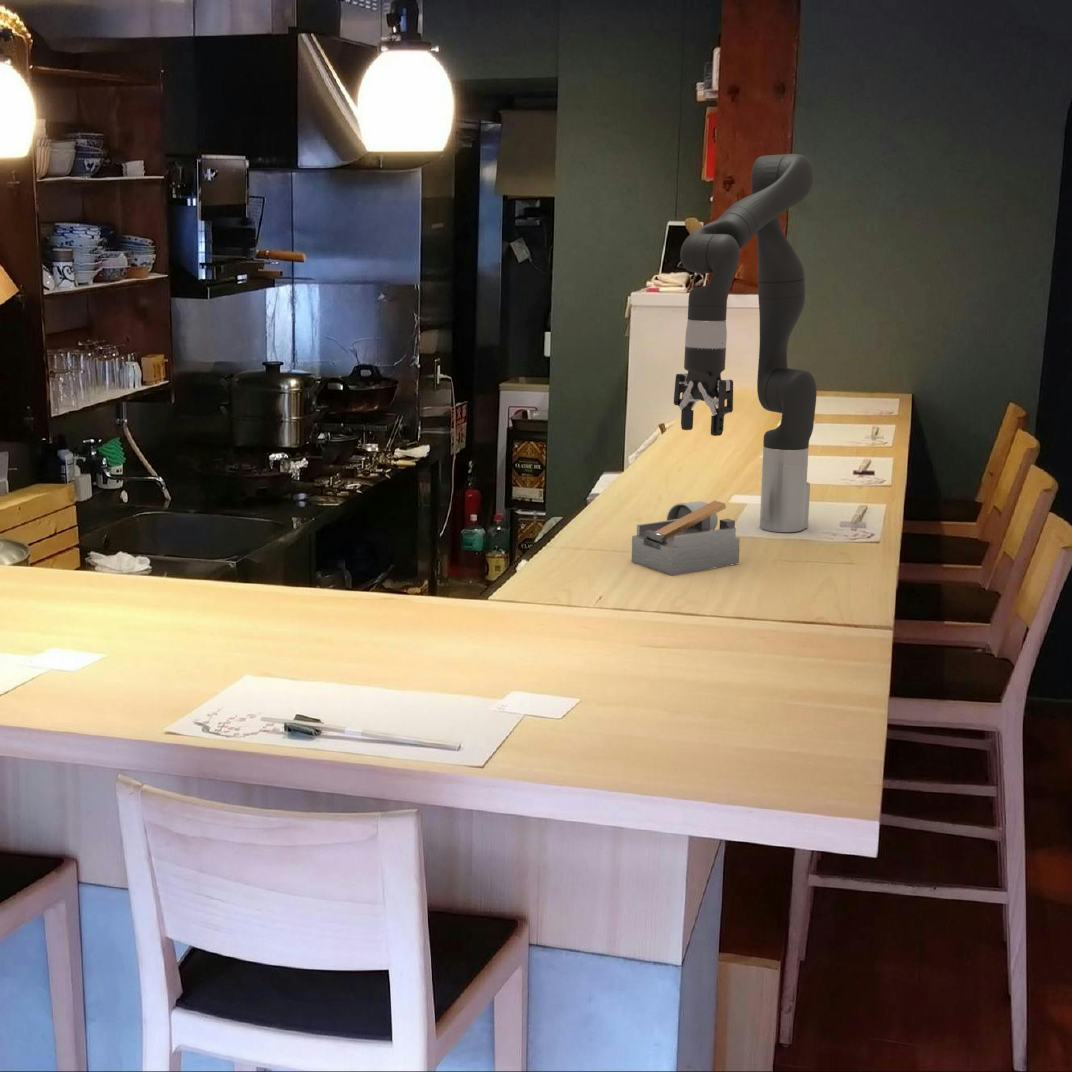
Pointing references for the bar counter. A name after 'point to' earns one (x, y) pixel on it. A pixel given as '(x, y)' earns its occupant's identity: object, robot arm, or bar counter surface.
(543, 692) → the bar counter surface
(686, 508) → the ceramic mug
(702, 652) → the bar counter surface
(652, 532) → the strap
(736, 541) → the block
